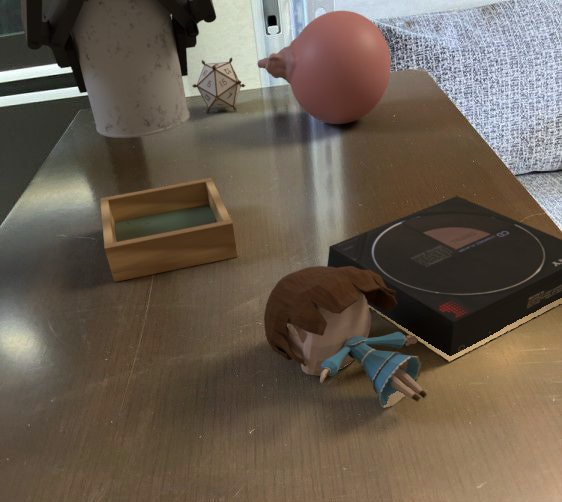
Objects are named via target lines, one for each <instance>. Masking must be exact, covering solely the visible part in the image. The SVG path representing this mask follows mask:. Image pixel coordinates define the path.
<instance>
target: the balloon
mask: <svg viewBox="0 0 562 502" xmlns="http://www.w3.org/2000/svg"><path fill="white" fill-rule="evenodd" d="M256 64H257V68H259V69H265V71H266V72H267V73H268V74H269V75H271V77H272V78H273V79H283V80H284V81H286V83H288V85H290V89H291V91H292V94H293V96H294V98H295V99H296V101H297V103H298V104H299V106H300V107H301V108H302V109H303V110H304V112H306V113H307V114H308V115H309V116H311V117H312V118H314V119H316V120H318V121H320V122H322V123H326V124H331V125H343V124H344V125H345V124H350V123H353V122H355V121H359V120H360V119H362V118H363V117H365V116H366V115H368V114H370V112H372V110H374V108H375V107H376V106H377V105H378V104H379V103H380V101H381V99H382V98H383V96H384V95H385V93H386V91H387V89H388V85H389V82H390V77H391V71H392V69H391V68H392V61H391V53H390V48H389V45H388V43H387V41H386V38H385V36H384V35H383V33H382V31H381V30H380V29H379V27H378V26H377V25H376V24H375V23H374V22H373V21H372V20H370V19H369V18H367V17H366V16H364V15H362V14H360V13H357V12H354V11H349V10H333V11H330V12H326V13H323V14H321V15H318V16H317V17H316V18H313V20H311V21H310V22H309V23H308V24H306V26H304V28H303V29H302V30H301V31H300V32H299V34H298V36H297V37H296V38H294V39H293V40H292V41H291V42H290V43H289V45H288V46H285V47H283V48H281V49H280V50H279V51H278V52H277V53H276V52H275V53H274V52H273V53H271V54H270V55H269V56H268V57H264V58H262V59H259V60H258V61H257V63H256Z"/></svg>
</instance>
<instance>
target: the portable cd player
mask: <svg viewBox="0 0 562 502" xmlns="http://www.w3.org/2000/svg"><path fill="white" fill-rule="evenodd" d="M327 257H328V258H327V265H326V266H327V267H335V268H339V267H347V266H353V267H356V268H358V269H360V270H371V271H373V272H374V273H376V274H378V275H380V276H381V278H382V279H383V281H384V283H385V285H386V287H387V288H388V289H391V290H395V291H396V292H395V295H394V297H395V299H396V301H397V305H396V306H395V308H394V309H393V310H392V311H386V310H383V309H381V308H379V307H377V306H376V305H374V304H372V303H370V302H367V304H368V305H370V306H371V307H373V308H374V309H375V310H377V311H379V312H381V314H383V315H385V316H387V317H388V318H390V319H391V320H393V321H395V322H396V323H397V324H399V325H401V326H402V327H404V328H406V329H408V331H410V332H412V333H413V334H415V335H416V336H418V337H420V338H421V339H423V340H424V341H426V342H428V344H431V345H432V346H434V347H435V348H437V349H439V350H441V351H442V352H444V353H446V354H447V355H449V356H452V355H454V354H456V353H458V352H460V351H462V350H464V349H466V348H467V347H470V346H472V345H473V344H476V343H477V342H479V341H481V340H483V339H485V338H487V337H489V336H490V335H493V334H494V333H496V332H498V331H500V330H501V329H503V328H504V327H506V326H507V325H510V324H512V323H514V322H516V321H517V320H519V319H522V318H523V317H525V316H528V315H529V314H531V313H534V312H536V311H537V310H539V309H541V308H542V307H544V306H546V305H548V304H550V303H552V302H554V301H556V300H558V299H560V298H562V239H561V238H559V237H557V236H555V235H552V234H550V233H547V232H544V231H542V230H540V229H537V228H535V227H533V226H530V225H528V224H526V223H523V222H520V221H519V220H516V219H514V218H512V217H508V216H506V215H504V214H501V213H499V212H496V211H495V210H492V209H489V208H487V207H485V206H482V205H480V204H478V203H475V202H473V201H471V200H468V199H466V198H463V197H461V196H458V195H456V196H453V197H451V198H448V199H446V200H443V201H440V202H437V203H435V204H433V205H430V206H427V207H426V208H423V209H420V210H418V211H415V212H413V213H410V214H408V215H405V216H402V217H400V218H398V219H394V220H393V221H390V222H388V223H385V224H383V225H380V226H377V227H375V228H372V229H369V230H368V231H364V232H362V233H360V234H357V235H354V236H352V237H349V238H347V239H344V240H342V241H339V242H337V243H334V244H331V245H329V247H328V256H327ZM385 291H386V290H385ZM386 292H387V291H386Z"/></svg>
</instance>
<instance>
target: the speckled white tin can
mask: <svg viewBox="0 0 562 502" xmlns="http://www.w3.org/2000/svg"><path fill="white" fill-rule="evenodd" d="M71 36H72V39H73V42H74V45H75V49H76V53H77V56H78V60H79V64H80V67H81V71H82V75H83V78H84V82H85V86H86V89H87V92H86V93H87V97H88V100H89V103H90V107H91V111H92V116H93V118H94V122H95V129H96V131H97V133H98V134H99V135H101V136H104V137H107V138H115V139H131V138H141V137H147V136H152V135H158V134H161V133H165V132H169V131H171V130H173V129H176V128H178V127H180V126H182V125H183V124H185V123H186V122H187V121H188V120H189V119H190V111H189V109H188V102H187V97H186V92H185V85H184V79H183V76H182V74H181V69H180V63H179V57H178V52H177V46H176V41H175V35H174V29H173V24H172V15H171V14H170V13H169V12H168V11H167V10H166V9H165V8H164V7H163V6H162V5H161V3H160V2H159V1H158V0H89V1H84V3H83V6H82V8H81V10H80V12H79V15H78V17H77V19H76V21H75V24H74V26H73V28H72V30H71Z"/></svg>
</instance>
